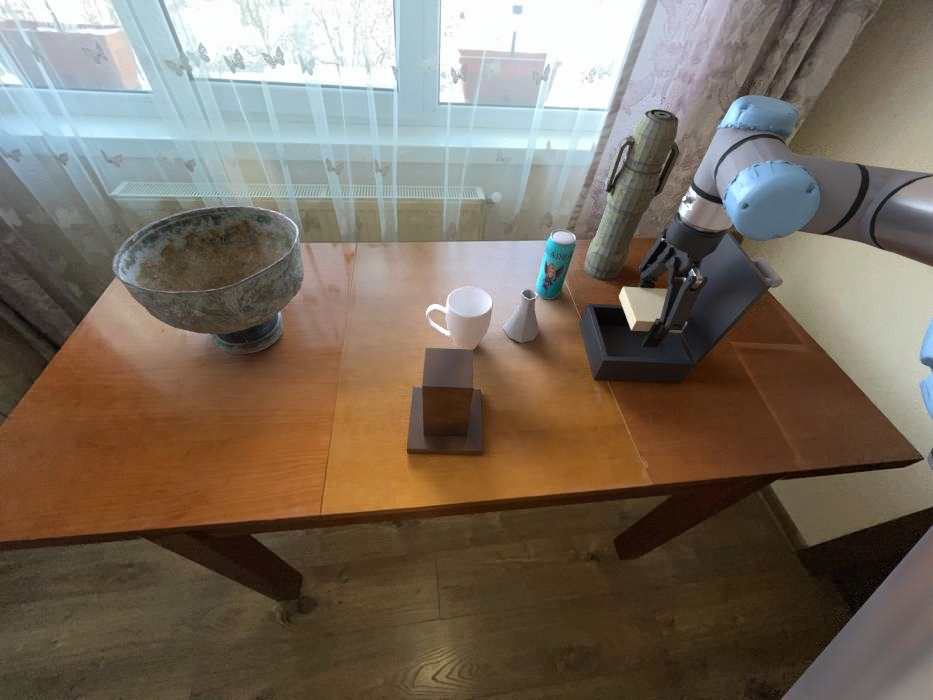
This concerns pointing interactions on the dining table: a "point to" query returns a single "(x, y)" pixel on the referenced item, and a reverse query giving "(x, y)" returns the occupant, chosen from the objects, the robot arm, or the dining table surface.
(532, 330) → the flask
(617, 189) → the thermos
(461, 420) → the stand
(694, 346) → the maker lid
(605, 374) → the open box
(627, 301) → the beige flat square block
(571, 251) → the beverage can
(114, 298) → the dining table surface
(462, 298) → the mug
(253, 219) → the decorative bowl
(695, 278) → the robot arm
